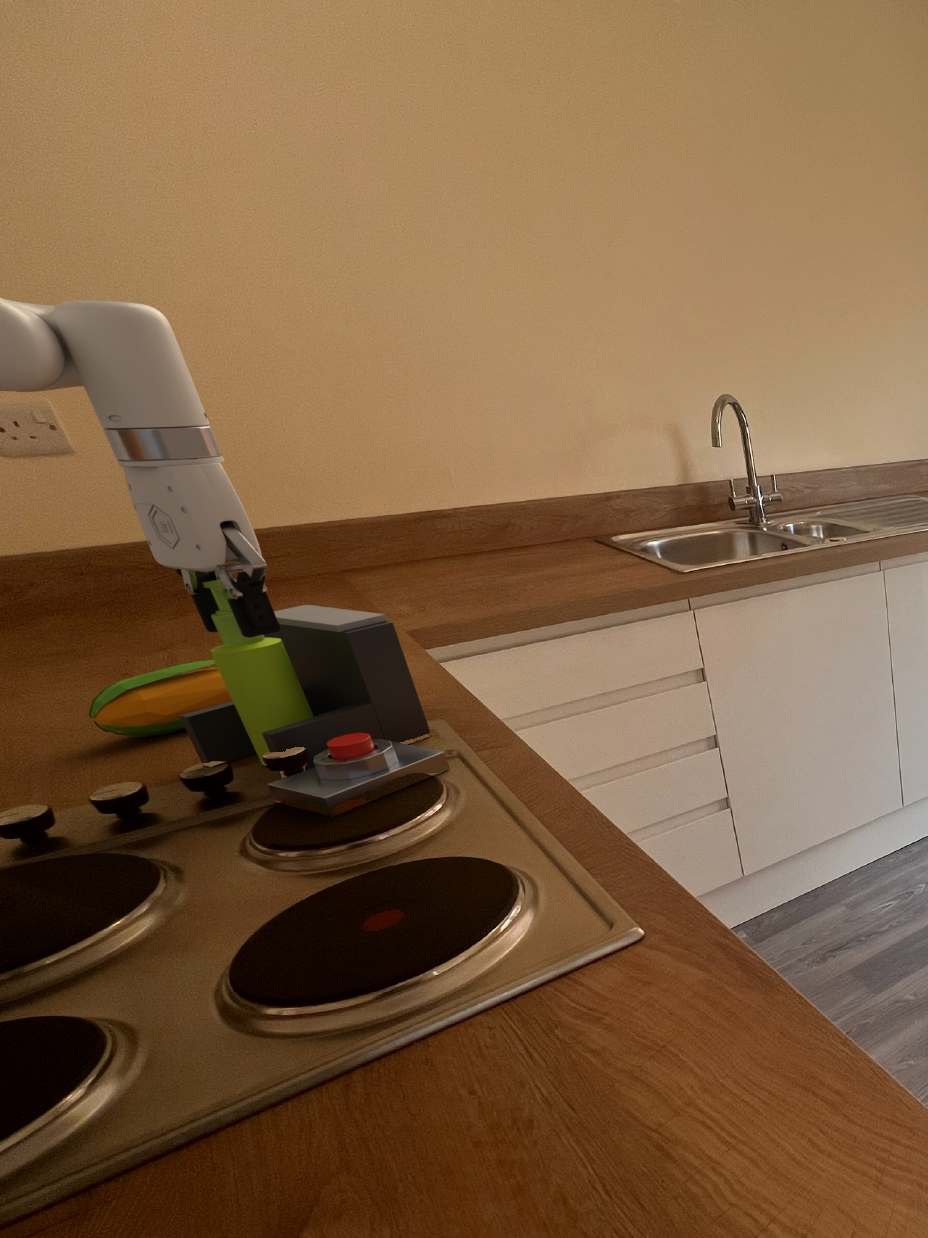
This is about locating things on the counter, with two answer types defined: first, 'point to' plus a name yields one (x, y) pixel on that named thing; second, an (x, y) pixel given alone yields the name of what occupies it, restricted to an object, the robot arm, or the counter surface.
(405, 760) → the button block
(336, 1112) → the counter surface
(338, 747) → the button
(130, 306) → the robot arm
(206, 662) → the corn
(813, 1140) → the counter surface
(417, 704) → the coffee maker
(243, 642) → the soap dispenser
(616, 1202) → the counter surface
